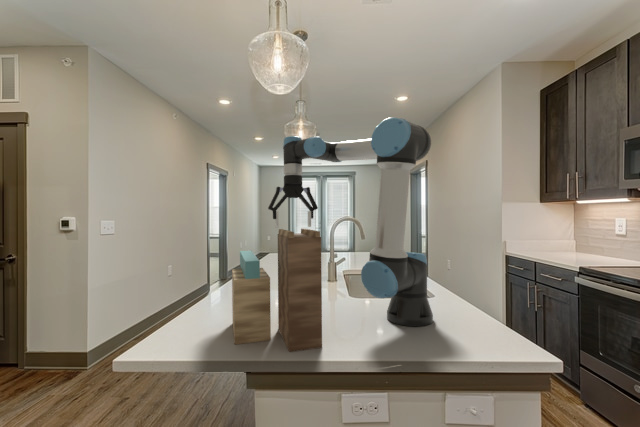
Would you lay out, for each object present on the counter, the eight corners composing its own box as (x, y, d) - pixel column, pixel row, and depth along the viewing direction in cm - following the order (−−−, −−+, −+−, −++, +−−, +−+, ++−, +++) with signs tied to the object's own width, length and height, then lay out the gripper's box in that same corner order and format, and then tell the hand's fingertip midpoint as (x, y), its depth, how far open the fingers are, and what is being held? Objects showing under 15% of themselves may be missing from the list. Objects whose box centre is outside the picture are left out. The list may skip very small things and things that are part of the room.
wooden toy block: (232, 323, 107) (232, 269, 107) (262, 320, 110) (262, 267, 110) (234, 344, 90) (234, 280, 90) (270, 340, 93) (270, 277, 93)
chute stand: (278, 329, 101) (277, 229, 101) (306, 326, 104) (305, 228, 104) (289, 352, 85) (288, 232, 85) (322, 347, 88) (321, 231, 88)
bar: (240, 265, 116) (239, 251, 116) (251, 264, 117) (251, 250, 117) (245, 279, 91) (245, 261, 91) (259, 278, 92) (259, 260, 92)
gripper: (319, 177, 140) (319, 226, 140) (261, 175, 132) (261, 227, 133) (324, 175, 133) (325, 226, 133) (263, 173, 125) (263, 228, 125)
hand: (293, 227), depth 133 cm, fingers open, 13 cm apart
